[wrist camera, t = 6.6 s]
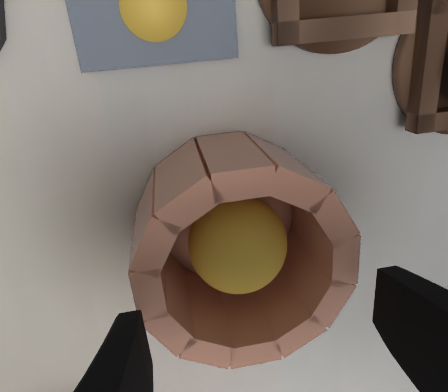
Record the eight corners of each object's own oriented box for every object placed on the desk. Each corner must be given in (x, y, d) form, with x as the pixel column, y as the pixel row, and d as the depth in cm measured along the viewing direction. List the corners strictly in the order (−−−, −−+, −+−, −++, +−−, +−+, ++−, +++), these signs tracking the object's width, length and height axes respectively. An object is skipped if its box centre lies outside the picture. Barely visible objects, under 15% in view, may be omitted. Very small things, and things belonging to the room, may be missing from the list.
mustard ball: (270, 174, 16) (303, 212, 13) (272, 253, 18) (301, 306, 14) (179, 186, 16) (186, 228, 12) (189, 265, 17) (198, 324, 14)
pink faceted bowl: (308, 123, 16) (366, 153, 12) (307, 274, 19) (353, 345, 15) (124, 145, 15) (109, 187, 11) (154, 300, 18) (152, 384, 14)
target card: (229, -62, 13) (231, -66, 13) (236, 57, 15) (239, 57, 14) (55, -52, 12) (51, -56, 12) (82, 72, 14) (80, 72, 14)
